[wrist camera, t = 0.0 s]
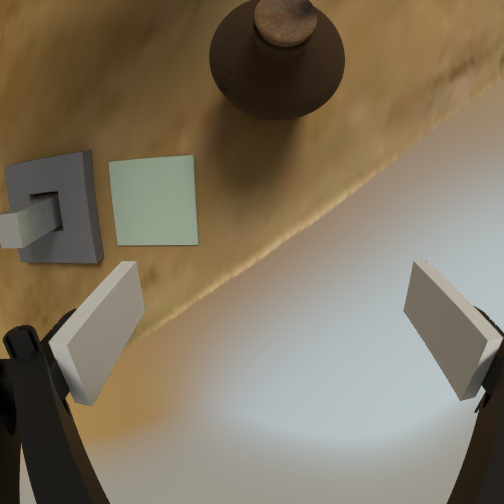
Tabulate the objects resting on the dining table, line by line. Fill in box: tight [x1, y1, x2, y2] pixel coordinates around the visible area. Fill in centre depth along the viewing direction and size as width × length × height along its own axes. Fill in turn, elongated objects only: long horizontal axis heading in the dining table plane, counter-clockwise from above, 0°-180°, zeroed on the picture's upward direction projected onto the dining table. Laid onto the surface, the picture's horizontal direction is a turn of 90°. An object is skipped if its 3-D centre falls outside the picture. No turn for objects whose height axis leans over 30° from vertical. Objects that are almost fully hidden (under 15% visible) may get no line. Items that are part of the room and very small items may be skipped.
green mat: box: [109, 155, 199, 245], centre depth 42 cm, size 12×12×1 cm
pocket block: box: [5, 150, 104, 263], centre depth 41 cm, size 16×16×2 cm
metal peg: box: [0, 193, 63, 248], centre depth 37 cm, size 4×4×12 cm
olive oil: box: [209, 0, 345, 120], centre depth 24 cm, size 11×11×25 cm
